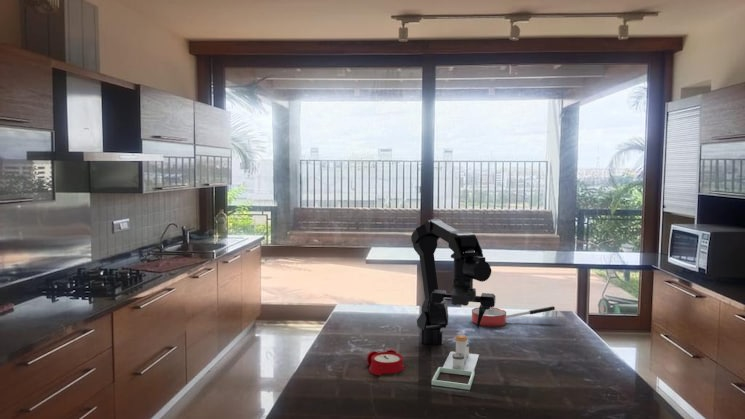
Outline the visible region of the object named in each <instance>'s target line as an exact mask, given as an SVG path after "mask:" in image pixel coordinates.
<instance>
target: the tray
mask: <svg viewBox="0 0 745 419" xmlns="http://www.w3.org/2000/svg"><path fill="white" fill-rule="evenodd" d="M441 373H445V374H451V375H452V374H454V375H462V376H467V377H468V376H469V377H470V378H469V380H468V382H467V383H461V382H456V381H455V382H453V381H446V380H439V379H438V377H439V376H440V374H441ZM474 378H475V370H474V371H469V370H461V369H453V368H444V367H443V366H438V368H437V369H436V371H435V373H434V375H433V377H432V379H431V389H433V390H441V389H442V391H450V392H457V393H462V394H463V393H464V394H470V393H471V391H470V390H471V388H472V384H473V381H474Z"/></svg>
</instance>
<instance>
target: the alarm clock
mask: <svg viewBox="0 0 745 419" xmlns="http://www.w3.org/2000/svg"><path fill="white" fill-rule="evenodd" d="M403 360H404V358H403V356H402V355H401V354H400V353H398V352H396V351H395V350H394V349H387V350H386V351H379V352H377V351H370V352H369V353H368V354H367V358H366V362H367V364H368V365H369V369H368V370H369V373H371V374H373V375H376V376H380V377H381V375H383V374H395V373H400V372H401V371H403V370H404V369H405V368H406V366H405V365H404V363H403V362H404V361H403Z"/></svg>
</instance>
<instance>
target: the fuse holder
mask: <svg viewBox="0 0 745 419" xmlns="http://www.w3.org/2000/svg"><path fill="white" fill-rule="evenodd" d="M479 356H480V354H478V353H470V343H469V342H468V341H467V351H466V364H464V355H463V354H460V353H456V351H450V352H449V354H448V356H447V358H446V359H445V362H444V364H443V366H442V367H444V368H453V369H461V370H469V371H475V369H476V367H477V362H478V359H479Z"/></svg>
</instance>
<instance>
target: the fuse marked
mask: <svg viewBox="0 0 745 419" xmlns="http://www.w3.org/2000/svg"><path fill="white" fill-rule="evenodd" d="M467 340H468V336H467V335H463V334H458V335H455V352H456V353H460V354H463V355H464V364H466V351H467V342H468V341H467Z"/></svg>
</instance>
